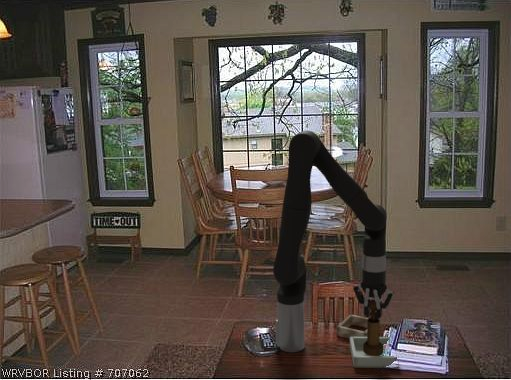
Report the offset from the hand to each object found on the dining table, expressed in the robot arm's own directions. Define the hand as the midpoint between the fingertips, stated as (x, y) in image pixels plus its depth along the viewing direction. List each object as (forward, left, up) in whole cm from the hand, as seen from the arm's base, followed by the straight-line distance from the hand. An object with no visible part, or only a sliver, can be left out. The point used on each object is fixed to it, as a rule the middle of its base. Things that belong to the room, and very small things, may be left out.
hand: (373, 317), depth 172 cm
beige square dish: (-11, +14, -14) cm, 23 cm away
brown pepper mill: (0, 0, -12) cm, 12 cm away
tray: (0, 0, -14) cm, 14 cm away
